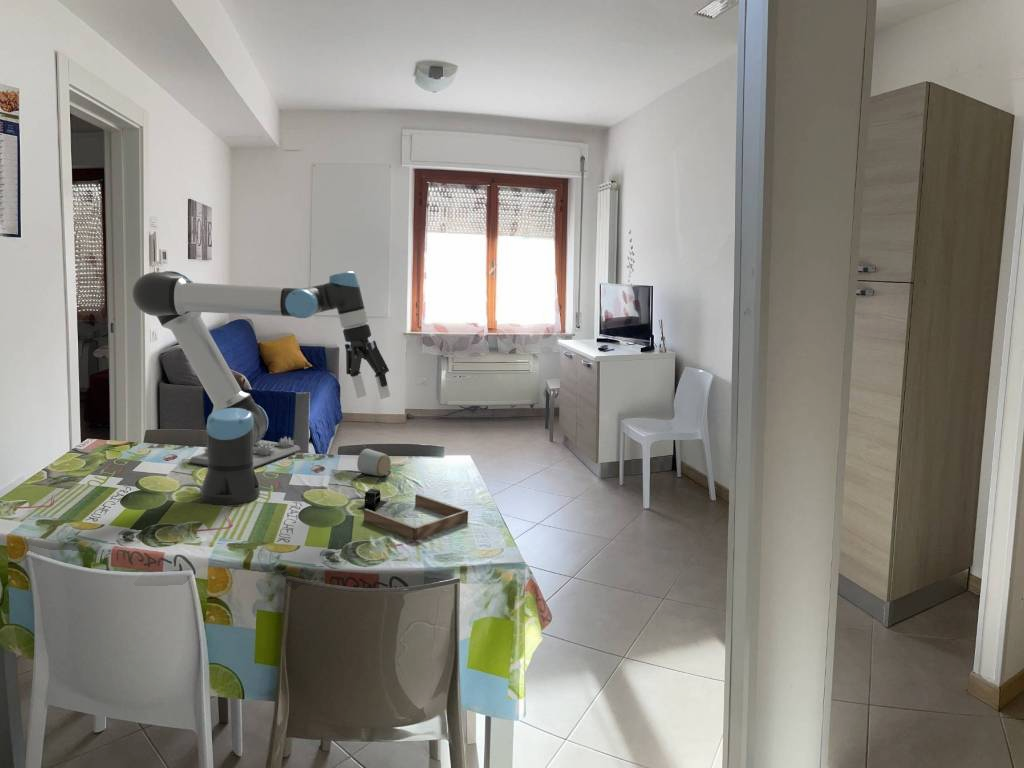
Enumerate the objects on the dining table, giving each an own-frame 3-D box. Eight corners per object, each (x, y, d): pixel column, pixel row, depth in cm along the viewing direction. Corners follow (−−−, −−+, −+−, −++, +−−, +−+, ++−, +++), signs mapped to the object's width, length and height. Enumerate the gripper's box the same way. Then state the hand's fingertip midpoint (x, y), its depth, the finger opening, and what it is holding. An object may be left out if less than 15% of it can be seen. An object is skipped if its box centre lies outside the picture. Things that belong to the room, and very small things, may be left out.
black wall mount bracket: (375, 516, 196) (375, 499, 195) (349, 513, 198) (350, 496, 197) (392, 501, 208) (393, 485, 207) (368, 498, 210) (368, 483, 209)
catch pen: (414, 540, 179) (415, 528, 179) (363, 520, 191) (364, 509, 190) (467, 521, 194) (468, 510, 193) (417, 504, 205) (417, 494, 205)
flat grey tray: (250, 444, 260) (250, 424, 259) (302, 452, 253) (302, 432, 252) (187, 464, 232) (186, 442, 231) (244, 474, 225) (243, 451, 224)
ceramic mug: (378, 479, 226) (379, 455, 225) (356, 475, 229) (357, 450, 228) (397, 472, 235) (398, 448, 234) (376, 468, 239) (377, 444, 238)
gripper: (389, 320, 205) (407, 393, 209) (345, 325, 224) (363, 392, 228) (365, 326, 200) (384, 401, 204) (323, 331, 219) (341, 400, 223)
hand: (373, 397), depth 216 cm, fingers open, 13 cm apart
